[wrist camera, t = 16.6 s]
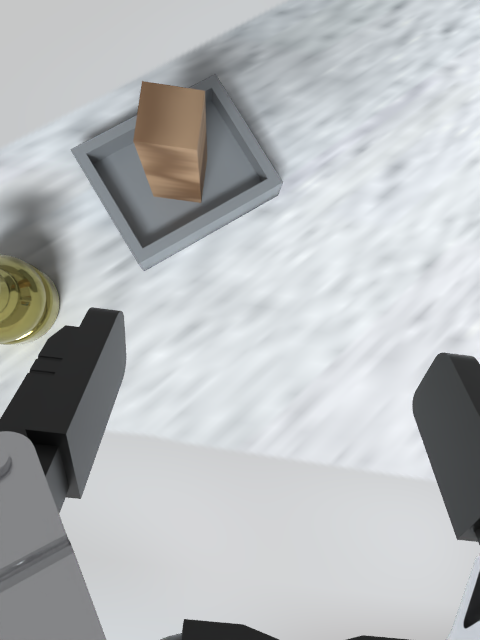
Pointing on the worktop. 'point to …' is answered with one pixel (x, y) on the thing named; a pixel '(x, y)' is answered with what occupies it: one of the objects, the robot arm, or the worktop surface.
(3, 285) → the olive green lumpy figure
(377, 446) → the worktop surface
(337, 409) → the worktop surface
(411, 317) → the worktop surface
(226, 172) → the parts tray
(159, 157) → the block
